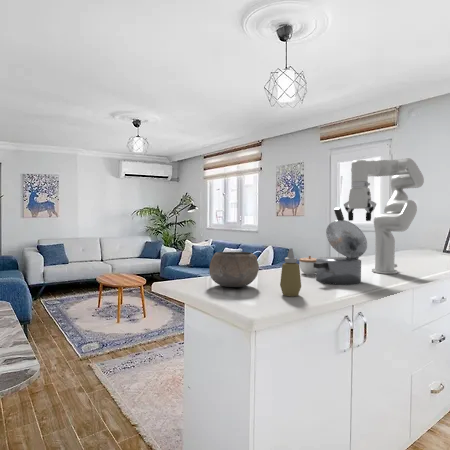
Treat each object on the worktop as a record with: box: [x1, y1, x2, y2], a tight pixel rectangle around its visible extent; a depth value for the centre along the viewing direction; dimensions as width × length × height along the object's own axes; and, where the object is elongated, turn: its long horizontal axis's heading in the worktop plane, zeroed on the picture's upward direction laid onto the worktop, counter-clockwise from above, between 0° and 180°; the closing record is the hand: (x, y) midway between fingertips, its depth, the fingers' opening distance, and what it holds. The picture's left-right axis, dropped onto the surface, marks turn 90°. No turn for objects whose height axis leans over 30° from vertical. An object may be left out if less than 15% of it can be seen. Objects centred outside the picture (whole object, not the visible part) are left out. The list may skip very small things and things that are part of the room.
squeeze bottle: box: [279, 248, 302, 297], centre depth 138 cm, size 8×8×18 cm
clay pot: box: [208, 251, 260, 288], centre depth 153 cm, size 21×21×15 cm
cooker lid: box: [325, 207, 368, 260], centre depth 170 cm, size 27×21×3 cm
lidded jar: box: [298, 255, 316, 276], centre depth 187 cm, size 11×11×9 cm
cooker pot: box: [314, 256, 362, 286], centre depth 166 cm, size 26×20×10 cm
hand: (359, 220), depth 177 cm, fingers open, 9 cm apart
